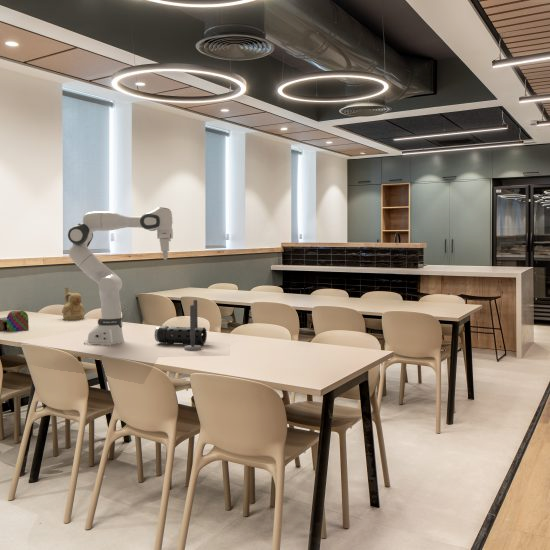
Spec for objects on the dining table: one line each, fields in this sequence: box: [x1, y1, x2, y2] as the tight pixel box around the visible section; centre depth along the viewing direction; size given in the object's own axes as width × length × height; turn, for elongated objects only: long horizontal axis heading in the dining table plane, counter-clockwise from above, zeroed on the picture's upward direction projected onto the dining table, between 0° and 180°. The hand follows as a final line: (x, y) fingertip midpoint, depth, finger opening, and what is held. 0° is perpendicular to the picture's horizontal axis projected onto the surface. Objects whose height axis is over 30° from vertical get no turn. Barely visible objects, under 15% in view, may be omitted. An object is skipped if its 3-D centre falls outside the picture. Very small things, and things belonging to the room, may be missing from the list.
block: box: [0, 309, 30, 333], centre depth 378 cm, size 25×17×14 cm
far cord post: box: [192, 299, 199, 328], centre depth 335 cm, size 9×9×24 cm
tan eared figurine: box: [61, 286, 85, 321], centre depth 424 cm, size 17×20×25 cm
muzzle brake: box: [154, 325, 208, 346], centre depth 320 cm, size 10×28×10 cm, turn 78°
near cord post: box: [183, 304, 202, 352], centre depth 305 cm, size 9×9×24 cm
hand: (165, 259), depth 328 cm, fingers open, 8 cm apart
